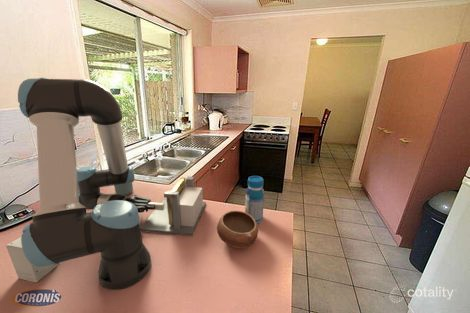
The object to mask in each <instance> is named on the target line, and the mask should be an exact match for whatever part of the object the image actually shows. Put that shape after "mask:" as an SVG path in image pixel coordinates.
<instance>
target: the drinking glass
mask: <svg viewBox="0 0 470 313" xmlns="http://www.w3.org/2000/svg"><path fill="white" fill-rule="evenodd" d="M113 187H114V191H115V192H114V193H115V194H120V195H123V196H126V195H129V193H130V194H132V192H133V191H134V188H133V182H131V183H126V184H120V185H113Z"/></svg>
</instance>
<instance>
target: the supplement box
mask: <svg viewBox="0 0 470 313" xmlns="http://www.w3.org/2000/svg"><path fill="white" fill-rule="evenodd" d="M5 247H6V249H7V252H8V255H9V257H10V260H11V262H12V265H13V269H14V270H15V274H16V276H17V278H18V279H20V280H25V281H28V282H33V283H38V282H39V281H41V279H43V278H44V277H45V276H46V275H48V274H49V273H50V272H52V271H53V270H54V269H55V268H57V267H58V266H59V265H60V263H59V264H52V265H47V266H42V267H37V266H34V265H32V264H31V263H30V262H29V261H28V260H27V259H26V257H25V255H24V252H23V249H22V244H21V236H20V237H18V238H16V239H15V240H13V241H11V242H10V243H9V242H8V243H7V244H6V245H5Z"/></svg>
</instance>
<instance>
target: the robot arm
mask: <svg viewBox="0 0 470 313" xmlns="http://www.w3.org/2000/svg"><path fill="white" fill-rule="evenodd" d="M17 90H18V91H17V102H18V103H19V110H20V112H21V113H22V114H23V116H24V117H26V118H27V119H28V118H29V119H28V120H29V123H31V124H33V125H34V126H36V140H37V141H36V144H37V165H38V166H37V167H38V168H37V169H38V170H37V171H38V193H39V208H38V210H37V211H35V213H34V214H33V215H32V216H31V217H32V222H29V223H28V224H26V225H25V226H24V227H23V230H22V232H21V235H20V237H21V244H22V249H23V252H24V255H25V257H26V259H27V260H28V261H29V262H30V263H31V264H32V265H34V266H37V267H42V266H47V265H52V264H59V265H60V263H63V262H64V263H65V262H67V261H71V260H75V259H79V258H83V257H86V256H91V255H93V254H94V255H95V254H97V253H100V262H99V268H98V271H97V272H98V273H97V274H98V280H99V283H100V285H101V286H102V287H103V288H104V289H108V290H113V291H115V290H116V291H117V290H123V289H126V288H130V287H131V286H133V285H135V284H137V283H138V282H140V281H141V280H142V279H144V277H145V276H146V275H147V274H148V272H149V271H150V270H151V269H150V268H151V267H152V259H151V258H152V257H151V253H150V252H149V250H148V248H147V247H146V245H145V243H144V242H143V235H142V231H141V223H140V221H141V217H140V215H139V214H141V213H145V212H147V213H148V212H149V210H150V211H153V210H164V203H161V202H156V201H152V199H151V198H149V197H145V196H140V195H137V194H133V196H132V197H131V196H130V197H129V196H128V197H125V195H120V194H116V193H106V192H105V193H103V192H101V188H106V187H111V186H113V187H114V185H120V184H126V183H131V182H132V183H134V182H135V180H136V179H135V171H134V167H133V166H129V165H128V164H129V163H128V159H127V154H126V147H125V143H124V136H123V132H122V126H121V125H122V124H121V121H123V113H122V109H121V106H120V105H119V102H118V101H117V100H116V98H115V97H114V95H113V94H112V93H111V92H110V91H109V90H108V89H106V88H105V87H104V86H102V85H101V84H99V83H98V82H95V81H94V80H90V79H85V78H84V79H83V78H82V79H81V78H80V79H77V78H76V79H74V78H73V79H70V78H46V77H39V78H27V79H25V80H23V81H22V82H21V83H20V84H19V87H18V89H17ZM80 117H91V121H92V122H93V123H94V124H95V125H96V127H97V130H98V134H99V138H100V142H101V145H102V150H103V153H104V156H105V160H106V165H107V167H108V169H100V170H97V168H96V167H95V166H93V165H87V166H82V167H81V168H79V169H77V167H78V166H77V156H76V142H75V130H74V129H75V127H76V126H78V125H79V123H80ZM78 188H79V192H80V193H78ZM88 210H91V212H87V211H88Z"/></svg>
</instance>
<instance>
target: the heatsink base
mask: <svg viewBox="0 0 470 313" xmlns="http://www.w3.org/2000/svg"><path fill="white" fill-rule="evenodd" d="M185 178H186V187H185V189H184V190H183V192H182V193H181V194H180V196H179V192H176V191H172V190H166V191H165V192H164V193H163V196H164V198H163V199H162V201H160V203H164V210H154V211H153V212H152V213H151V214H150V215H149V216H148V218H147V219H146V221H145V222H144V223H143V224H142V225H140V228H141V232H144V233H145V232H147V233H157V234H172V235H183V236H193V235H194V233H195V230H196V228H197V225H198V223H199V221H200V219H201V217H202V214H203V212H204V209H205V208H206V205H207V202H206V201H204V200H203V187H198V186H197V187H196V186H195V176H187V177H185ZM167 198H171V201H172V213H173V225H169V218H168V207H167Z"/></svg>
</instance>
